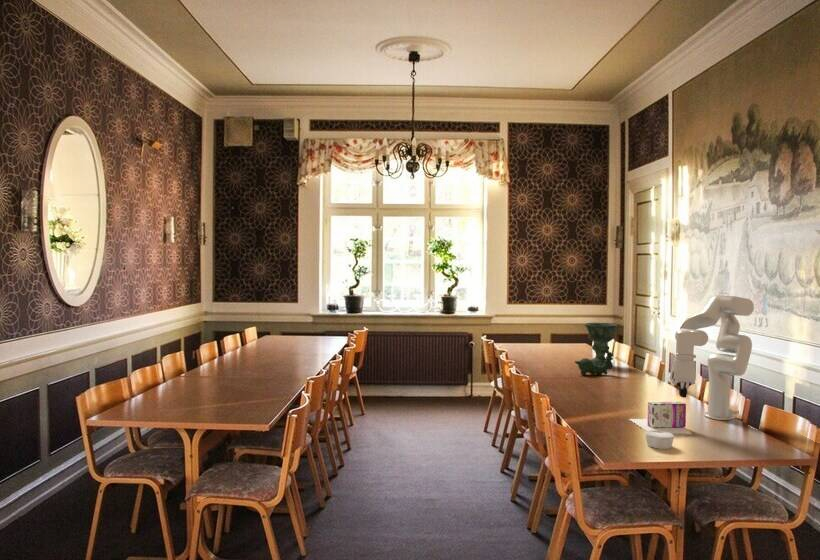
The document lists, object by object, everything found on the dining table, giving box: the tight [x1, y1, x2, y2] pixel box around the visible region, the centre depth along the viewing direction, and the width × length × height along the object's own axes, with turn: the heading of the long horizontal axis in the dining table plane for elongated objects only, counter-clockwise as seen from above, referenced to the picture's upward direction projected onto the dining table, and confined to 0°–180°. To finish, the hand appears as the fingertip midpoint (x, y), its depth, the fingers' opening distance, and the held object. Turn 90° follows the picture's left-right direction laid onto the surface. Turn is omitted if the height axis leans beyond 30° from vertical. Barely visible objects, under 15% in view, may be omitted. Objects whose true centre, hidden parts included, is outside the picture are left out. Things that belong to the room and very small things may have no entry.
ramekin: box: [645, 430, 675, 450], centre depth 266 cm, size 11×11×5 cm
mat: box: [628, 418, 693, 435], centre depth 296 cm, size 19×24×1 cm
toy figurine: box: [574, 349, 614, 377], centre depth 422 cm, size 9×19×25 cm
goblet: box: [584, 322, 619, 368], centre depth 457 cm, size 22×23×30 cm
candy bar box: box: [647, 401, 687, 428], centre depth 294 cm, size 11×5×16 cm
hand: (682, 396), depth 296 cm, fingers closed
